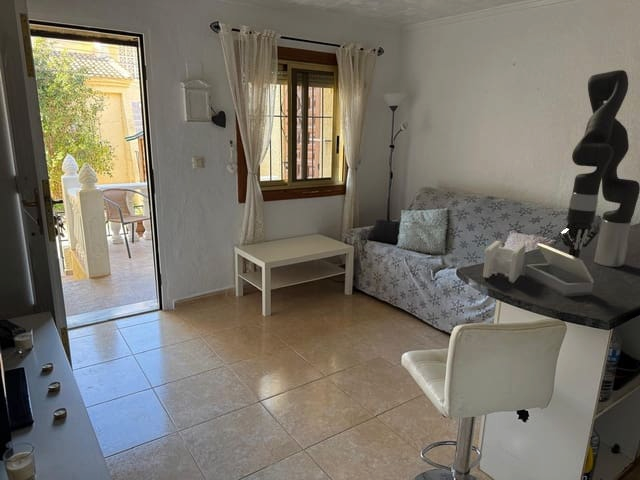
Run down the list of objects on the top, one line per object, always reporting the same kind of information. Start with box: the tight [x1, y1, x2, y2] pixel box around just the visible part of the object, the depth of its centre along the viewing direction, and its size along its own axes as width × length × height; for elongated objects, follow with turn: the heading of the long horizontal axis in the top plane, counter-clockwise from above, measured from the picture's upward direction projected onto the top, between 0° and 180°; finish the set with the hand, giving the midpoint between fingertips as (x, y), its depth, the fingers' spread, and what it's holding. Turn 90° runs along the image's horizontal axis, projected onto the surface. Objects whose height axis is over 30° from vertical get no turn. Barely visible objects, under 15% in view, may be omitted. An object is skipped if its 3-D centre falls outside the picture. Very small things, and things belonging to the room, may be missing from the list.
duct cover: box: [537, 242, 595, 284], centre depth 152 cm, size 10×20×1 cm
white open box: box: [523, 263, 594, 298], centre depth 153 cm, size 10×20×4 cm, turn 13°
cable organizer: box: [482, 240, 526, 284], centre depth 158 cm, size 15×11×12 cm
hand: (573, 259), depth 147 cm, fingers closed
